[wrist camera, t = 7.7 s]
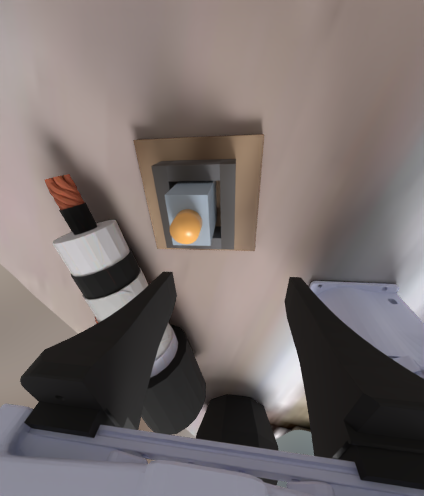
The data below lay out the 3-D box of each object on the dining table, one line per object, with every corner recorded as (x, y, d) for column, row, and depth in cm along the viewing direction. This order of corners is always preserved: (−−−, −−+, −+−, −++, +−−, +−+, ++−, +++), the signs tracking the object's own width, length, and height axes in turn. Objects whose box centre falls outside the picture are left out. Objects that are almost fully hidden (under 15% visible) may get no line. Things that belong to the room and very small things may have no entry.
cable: (118, 166, 24) (104, 158, 15) (197, 355, 38) (214, 412, 28) (25, 190, 22) (-57, 198, 13) (144, 381, 36) (144, 451, 26)
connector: (215, 176, 18) (204, 202, 12) (217, 217, 20) (208, 256, 14) (183, 176, 18) (156, 202, 13) (187, 217, 21) (167, 255, 15)
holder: (262, 134, 17) (268, 136, 14) (254, 246, 23) (256, 264, 20) (138, 139, 18) (118, 142, 15) (160, 244, 24) (149, 261, 21)
